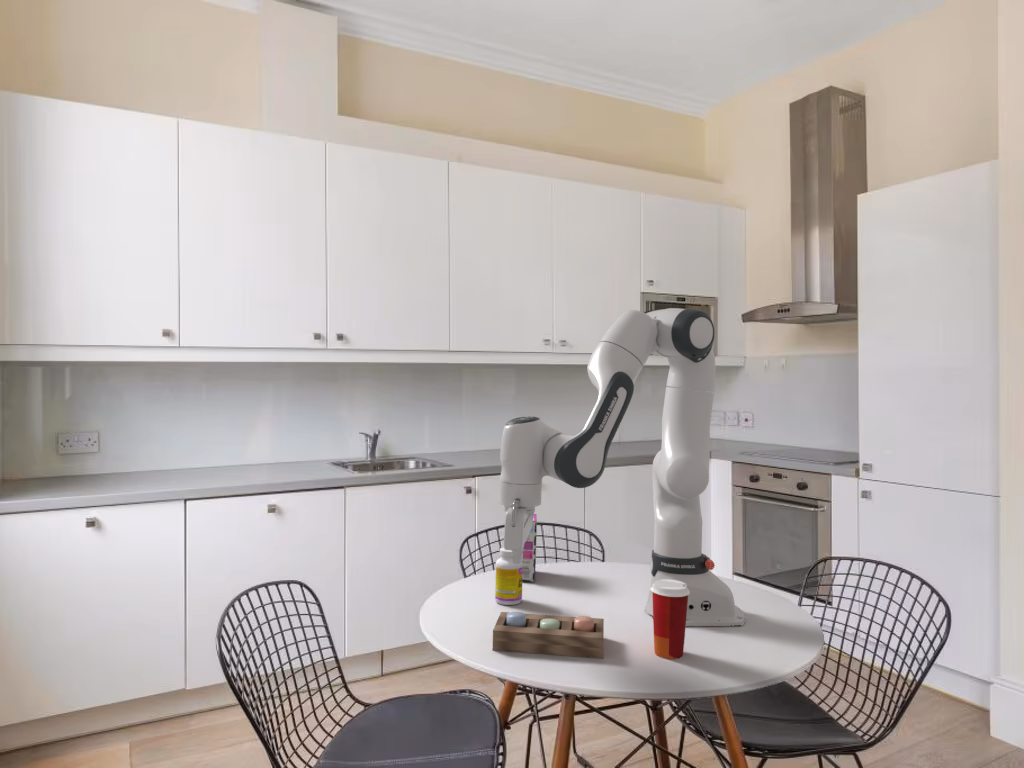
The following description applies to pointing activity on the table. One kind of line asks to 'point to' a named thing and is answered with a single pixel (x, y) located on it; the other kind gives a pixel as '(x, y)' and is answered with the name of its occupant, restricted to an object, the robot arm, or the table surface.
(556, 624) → the button sage
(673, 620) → the paper cup
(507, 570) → the supplement bottle
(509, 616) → the button slate
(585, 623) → the button terracotta
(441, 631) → the table surface
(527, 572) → the candy bar box
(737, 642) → the table surface
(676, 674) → the table surface
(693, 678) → the table surface
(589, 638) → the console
